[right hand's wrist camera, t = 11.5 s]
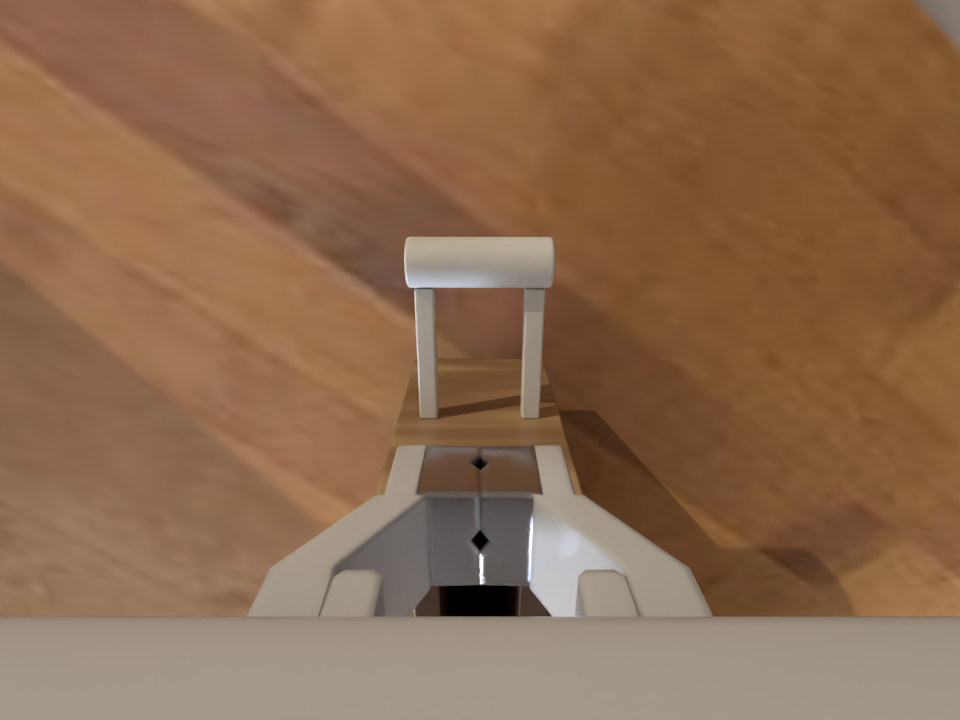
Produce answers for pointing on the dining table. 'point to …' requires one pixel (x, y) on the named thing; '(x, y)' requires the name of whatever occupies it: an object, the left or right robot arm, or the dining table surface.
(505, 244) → the drawer
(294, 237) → the dining table surface
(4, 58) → the dining table surface
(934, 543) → the dining table surface
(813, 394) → the dining table surface
